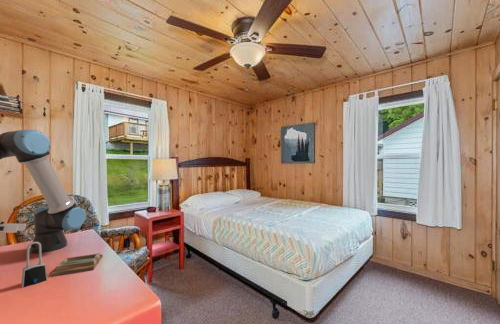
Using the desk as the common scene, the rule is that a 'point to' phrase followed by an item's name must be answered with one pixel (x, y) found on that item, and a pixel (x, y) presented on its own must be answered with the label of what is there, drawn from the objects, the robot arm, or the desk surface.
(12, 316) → the desk surface
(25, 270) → the padlock
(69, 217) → the robot arm
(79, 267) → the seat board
